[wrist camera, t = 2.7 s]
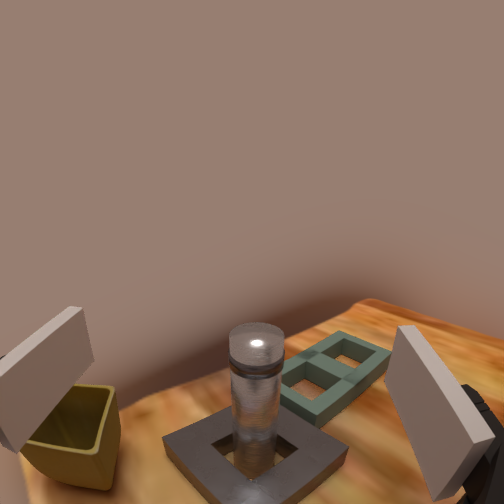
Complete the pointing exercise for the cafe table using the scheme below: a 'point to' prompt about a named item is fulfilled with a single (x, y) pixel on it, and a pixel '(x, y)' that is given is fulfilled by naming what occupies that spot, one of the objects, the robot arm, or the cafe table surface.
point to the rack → (331, 376)
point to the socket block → (269, 483)
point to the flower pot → (78, 438)
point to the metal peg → (255, 394)
